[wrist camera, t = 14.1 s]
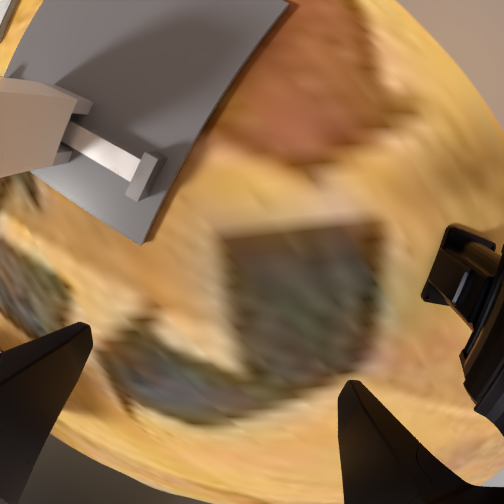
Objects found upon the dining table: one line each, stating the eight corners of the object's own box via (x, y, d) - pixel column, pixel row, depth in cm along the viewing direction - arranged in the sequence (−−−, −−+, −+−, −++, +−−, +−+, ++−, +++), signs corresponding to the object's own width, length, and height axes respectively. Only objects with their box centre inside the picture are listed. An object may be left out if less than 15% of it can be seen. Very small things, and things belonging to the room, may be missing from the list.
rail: (167, 157, 17) (157, 159, 16) (148, 197, 18) (137, 202, 17) (8, 77, 15) (-4, 75, 13) (-3, 106, 16) (-15, 106, 14)
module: (93, 102, 16) (-12, 91, 7) (68, 163, 18) (-35, 187, 8) (52, 83, 15) (-43, 74, 6) (31, 139, 17) (-63, 154, 8)
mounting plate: (288, 7, 14) (289, 3, 13) (143, 243, 20) (140, 245, 20) (79, -41, 11) (76, -43, 10) (-12, 135, 17) (-16, 136, 17)
